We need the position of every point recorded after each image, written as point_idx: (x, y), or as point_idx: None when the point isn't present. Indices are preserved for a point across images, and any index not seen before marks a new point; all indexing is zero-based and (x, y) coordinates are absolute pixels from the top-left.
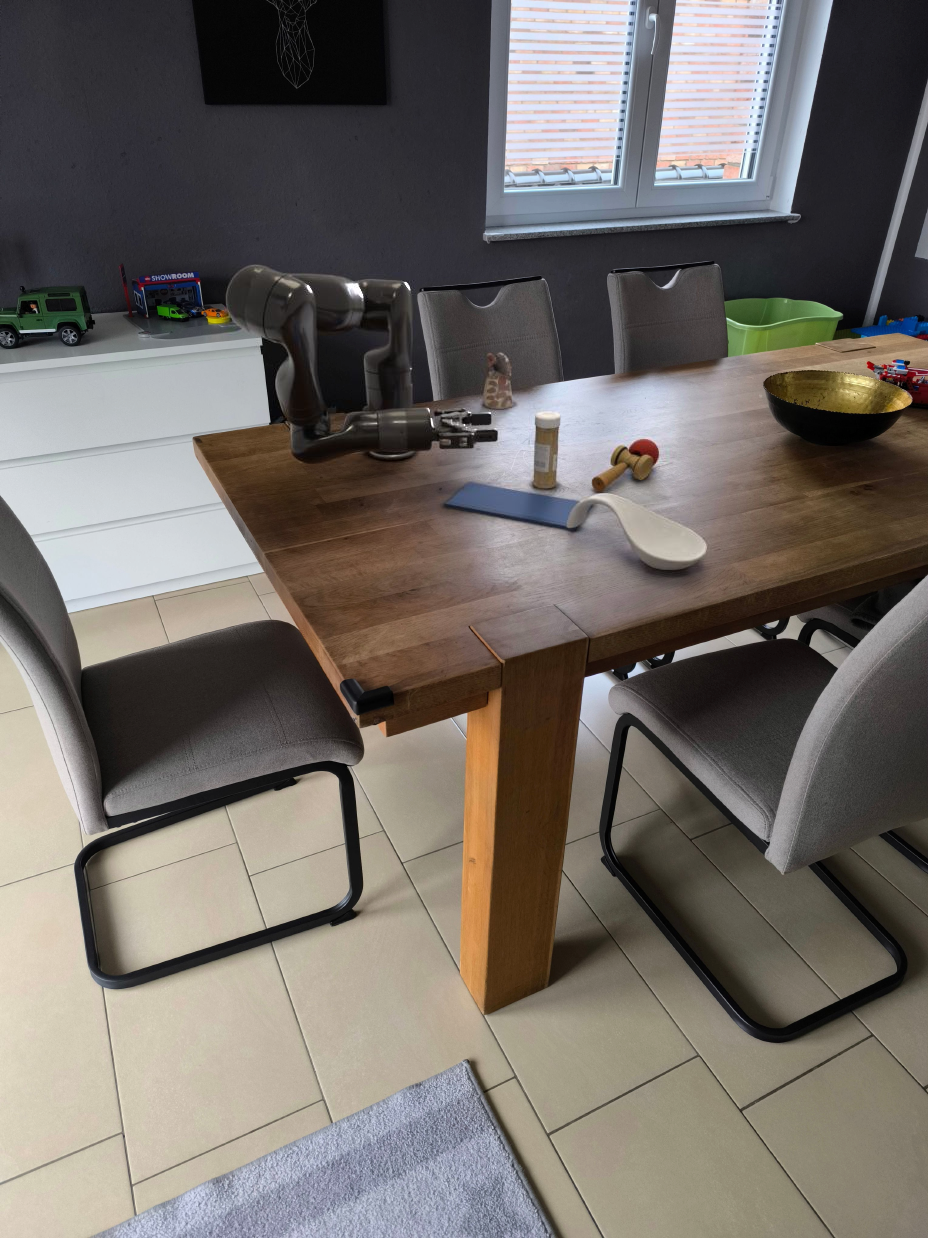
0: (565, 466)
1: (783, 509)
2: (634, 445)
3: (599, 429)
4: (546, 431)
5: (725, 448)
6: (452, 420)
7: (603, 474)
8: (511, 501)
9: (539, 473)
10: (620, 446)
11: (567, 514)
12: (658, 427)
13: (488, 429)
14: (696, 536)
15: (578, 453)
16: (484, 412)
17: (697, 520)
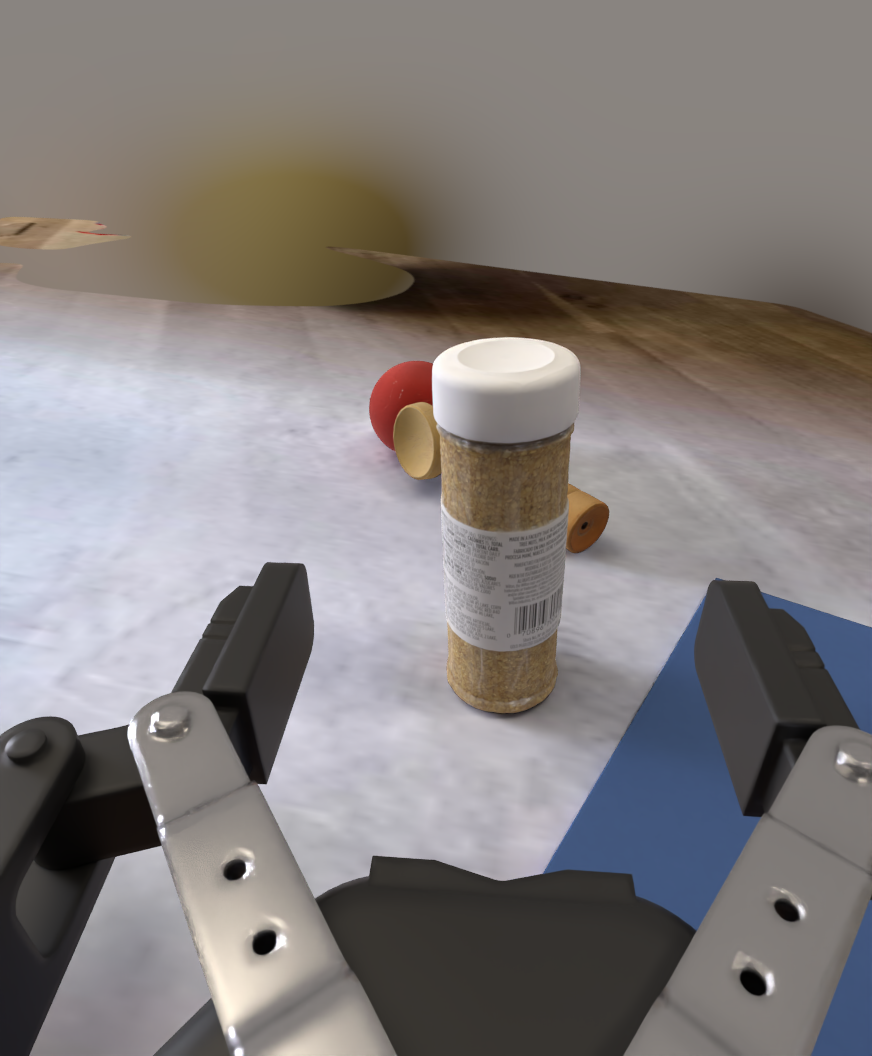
0: (324, 583)
1: (679, 355)
2: (420, 390)
3: (60, 464)
4: (570, 436)
5: (342, 350)
6: (417, 975)
7: (570, 491)
8: None
9: (545, 647)
10: (426, 407)
11: (852, 661)
12: (149, 389)
13: (765, 628)
14: None
15: (221, 534)
16: (255, 591)
17: (772, 438)
